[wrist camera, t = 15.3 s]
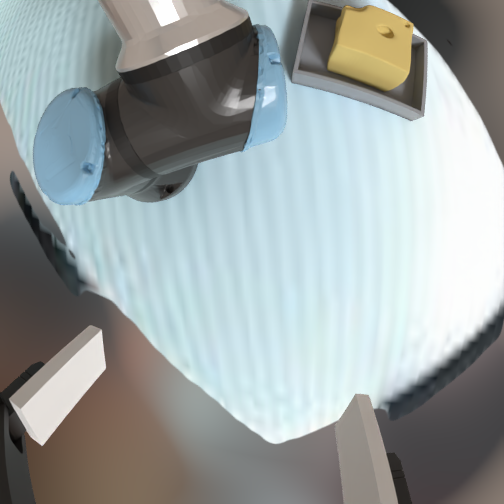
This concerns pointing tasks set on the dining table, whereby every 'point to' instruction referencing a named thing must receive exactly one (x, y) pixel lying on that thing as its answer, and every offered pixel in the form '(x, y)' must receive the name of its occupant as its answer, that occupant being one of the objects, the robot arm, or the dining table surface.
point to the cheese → (372, 47)
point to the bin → (317, 76)
